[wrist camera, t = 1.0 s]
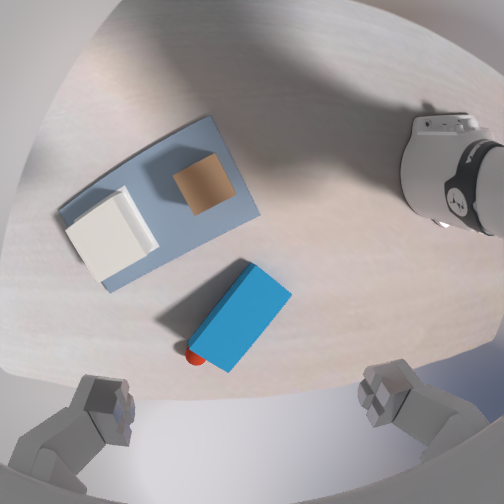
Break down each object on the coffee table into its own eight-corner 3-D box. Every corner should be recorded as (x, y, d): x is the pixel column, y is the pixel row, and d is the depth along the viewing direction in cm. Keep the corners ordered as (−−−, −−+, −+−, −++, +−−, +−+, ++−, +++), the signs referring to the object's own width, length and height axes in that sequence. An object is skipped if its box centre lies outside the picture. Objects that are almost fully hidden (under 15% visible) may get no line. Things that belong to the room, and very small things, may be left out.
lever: (242, 257, 44) (171, 346, 43) (256, 264, 37) (173, 368, 36) (274, 283, 46) (205, 367, 45) (292, 294, 40) (213, 390, 38)
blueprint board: (210, 115, 32) (210, 115, 31) (259, 213, 37) (260, 215, 36) (61, 209, 33) (58, 210, 33) (111, 290, 38) (109, 293, 38)
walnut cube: (215, 152, 33) (215, 153, 28) (234, 188, 35) (236, 194, 30) (178, 172, 33) (172, 175, 29) (197, 207, 35) (194, 216, 30)
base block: (122, 191, 33) (112, 196, 29) (153, 244, 36) (146, 255, 32) (78, 222, 34) (65, 230, 30) (108, 271, 36) (98, 283, 33)
